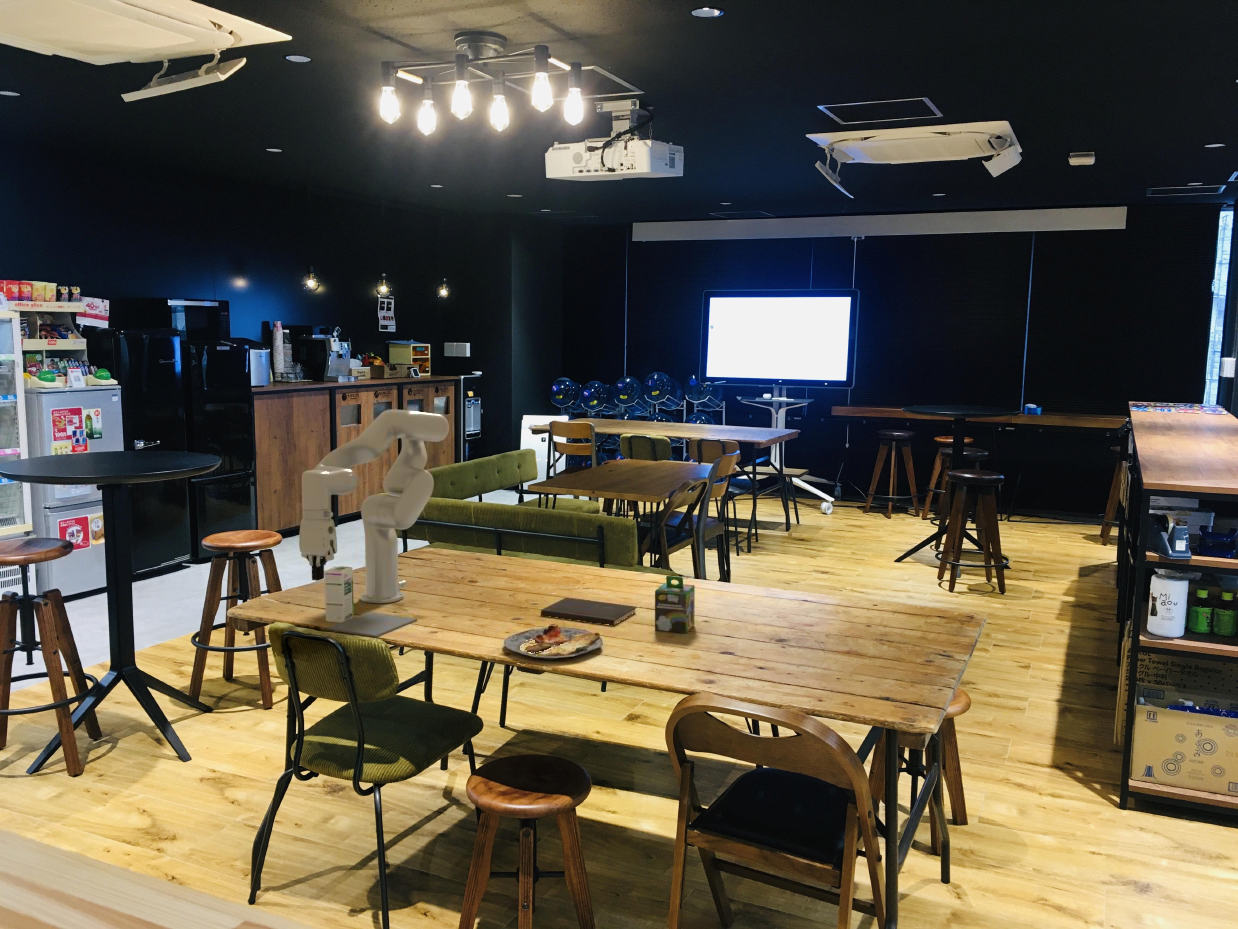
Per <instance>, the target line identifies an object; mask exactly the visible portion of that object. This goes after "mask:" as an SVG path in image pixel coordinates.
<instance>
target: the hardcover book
mask: <svg viewBox="0 0 1238 929" xmlns="http://www.w3.org/2000/svg"><path fill="white" fill-rule="evenodd" d="M637 608H638V607H637V606H633V605H626V604H625V605H624V604H621V603H619V604H617V603H610V602H601V601H597V600H596V601H595V600H589V599H588V600H587V599H583V598H582V599H580V598H573V597H565V598H563V599H561V600H559V601H556V602H553V603H552V604H550V605H547V606H545V607H544V608H542V609H540V616H541V615H543V616H542V617H545V616H551V617H550V618H552V617H558V618H557V619H559V618H564V619H563V620H567V619H571V620H570V621H574V620H580V621H579V622H581V621H586V622H585V623H588V622H592V623H591V624H595V623H601V624H600V625H602V624H609V625H614V624H616V623H617V622H619V621H621V620H622V621H624V620H625V619H624V618H626V617H627V616H629V615H631V614H632V613H634V612H635V613H636V609H637ZM635 613H634V614H635ZM632 615H633V614H632ZM632 615H631V616H632ZM629 617H630V616H629ZM627 618H628V617H627ZM627 618H626V619H627ZM623 619H624V620H623ZM622 621H621V622H622ZM619 623H620V622H619ZM617 624H618V623H617ZM617 624H616V625H617ZM609 625H608V626H609ZM614 626H615V625H614Z"/></svg>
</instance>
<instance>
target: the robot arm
mask: <svg viewBox="0 0 1238 929" xmlns="http://www.w3.org/2000/svg"><path fill="white" fill-rule="evenodd" d="M449 432H450V424H449V421H448V419H447V418H446V417H445V416H444V415H442V414H439V413H429V412H421V411H414V410H407V409H406V410H405V409H387V410H384V411H383V412H380V414H379V415H378V416H377V417H376V418H375V419H374V420H373V421H372V422H371V423H370V424H369V425H368V426H367V427H366V429H364V430H363V431H362V432H361V434H360V435H359V436H357V437H356V438H354V439H352V440H351V441H349V442H346V443H345V444H343V445H341V446H339V447H337V448H335V449H333V450H332V451H330V452H329V453H327V454H326V456H324V457H323V458H322V459H321V461H319V462H318V463H317V464H316V466H314V468H313V469H311V470H310V469H309V470H308V469H307V470H305V471H304V472H302V475H301V496H302V497H301V499H302V500H301V502H302V508H301V509H302V518H301V520H300V525H299V533H298V534H299V537H298V540H299V541H298V543H299V544H298V545H299V552H300V553H301V554H300V555H301V558H305V559H306V560H307V561H308V563H309V566H310V567H311V581H321V580H325V578H324V571H325V566H326V565H327V562H329V561H334V560H335V554H337V553H338V538H337V530H336V525H335V522H334V519H332V517H333V516H334V513H333V511H332V509H331V508H332V506H331V505H332V504H331V503H332V502H331V497H332V495H342V496H343V495H349V494H351V493H353V492H355V491H356V489H357V488H358V486H359V481H360V480H359V477H358V475H357V473H356V472H355V470H352V469H351V468H352V467H355V466H358V465H363V464H367V463H370V462H374V461H377V460H378V459H379V458H381V456H383V454H384V453H385V452H386V451H387V450H388V449H389V448H390V447H391V446H392V445H393V443H394V442H396V440H398V439H401V450H400V453H399V454H398V456H397V458H396V459H395V461H394V462H393V464H392V465H391V468H390V469H389V470H388V472H387V474H386V475H385V478H384V479H383V482H382V487H383V491H384V492H385V493H386V494H380V493H377V494H371V495H369V496H367V497H366V498H365V499H364V500H363V502H362V505H361V508H360V513H361V519H362V523H363V530H364V545H365V546H364V548H365V549H364V552H365V553H364V554H365V556H364V558H365V560H364V562H365V565H364V566H365V567H364V568H365V592H362V594H360V601H362V602H364V603H371V604H388V603H395V602H398V601H401V600H403V598H404V593H403V592H402V591H401V588H404V587H406V586H407V581H406V580H399V550H398V548H399V542H398V541H399V540H398V535H397V532H396V530H407V529H409V528H410V527H412V526H413V525H414V524H415V523H416V521H417V520H418V518H419V517H420V515H421V513H422V512H423V510H424V508H425V507H426V505H427V503H428V502H429V500H430V498H431V496H432V494H433V491H434V485H435V483H434V482H435V481H434V477H433V475H432V474H431V472H430V471H428V470H426V469H424V468H425V467H426V465H427V461H428V453H427V450H426V445H425V442H435V443H437V442H441V441H443V440H445V439H446V438H447V437H448V435H449Z"/></svg>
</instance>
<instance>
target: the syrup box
mask: <svg viewBox="0 0 1238 929" xmlns="http://www.w3.org/2000/svg"><path fill="white" fill-rule="evenodd" d="M353 570H354V569H353V567H350V566H344V565H343V566H333V567H332V568H329V569H326V570H324V599H325V600H324V601H325V603H324V604H325V606H324V607H325V621H326V622H329V623H338V624H339V623H341V622H344V621H347V620H350V619H352V618H355V611H354V608H355V604H354V572H353Z"/></svg>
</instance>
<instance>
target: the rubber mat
mask: <svg viewBox="0 0 1238 929" xmlns="http://www.w3.org/2000/svg"><path fill="white" fill-rule="evenodd" d="M415 622H418V618H415V617H410V616H409V617H407V616H402V615H395V614H389V613H382V612H381V613H380V612H374V611H369V612H366V613H364V614H361V615H358V616H354V617H353V618H351V619H350V620H347V621H344V622H341V623H339V622H338V623H336V624H334V625H331V626H329V627H327V630H330V631H335V632H341V633H347V634H355V635H362V636H366V637H373V638H379V637H380V636H382V635H385V634H388V633H391V632H392V631H395V630H398V629H400V628H403V627H405V626H407V625H409V624H412V623H415Z"/></svg>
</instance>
